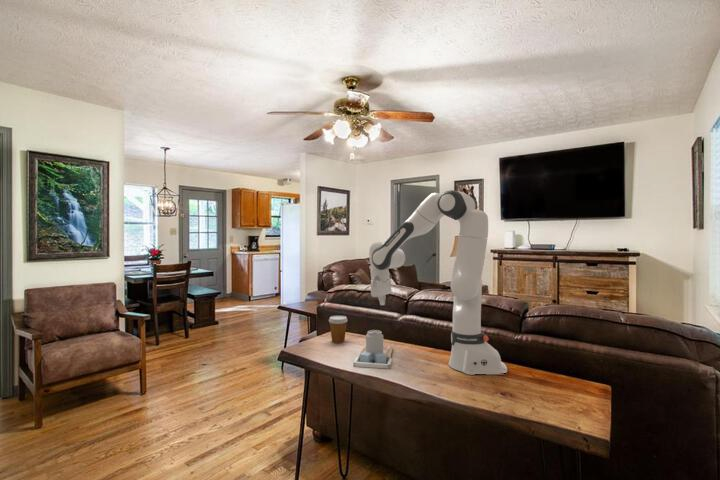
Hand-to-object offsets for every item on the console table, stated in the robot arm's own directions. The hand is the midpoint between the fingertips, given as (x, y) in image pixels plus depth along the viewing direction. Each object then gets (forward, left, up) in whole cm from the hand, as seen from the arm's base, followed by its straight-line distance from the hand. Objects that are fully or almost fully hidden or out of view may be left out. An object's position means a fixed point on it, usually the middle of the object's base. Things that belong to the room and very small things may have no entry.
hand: (382, 305), depth 173 cm
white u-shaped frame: (+1, +24, -20) cm, 31 cm away
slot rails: (+1, +12, -20) cm, 23 cm away
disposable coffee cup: (+23, -4, -20) cm, 31 cm away
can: (+1, +18, -20) cm, 27 cm away
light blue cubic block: (+4, +23, -20) cm, 31 cm away
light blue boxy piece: (-2, +23, -20) cm, 31 cm away
